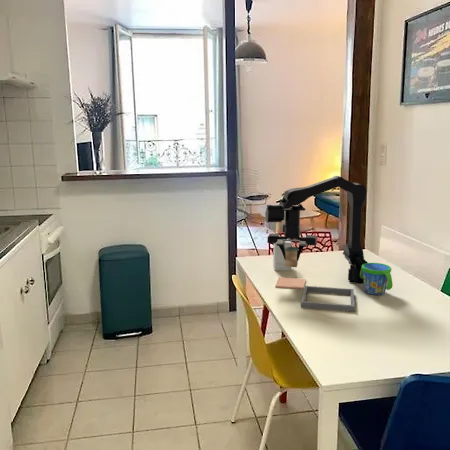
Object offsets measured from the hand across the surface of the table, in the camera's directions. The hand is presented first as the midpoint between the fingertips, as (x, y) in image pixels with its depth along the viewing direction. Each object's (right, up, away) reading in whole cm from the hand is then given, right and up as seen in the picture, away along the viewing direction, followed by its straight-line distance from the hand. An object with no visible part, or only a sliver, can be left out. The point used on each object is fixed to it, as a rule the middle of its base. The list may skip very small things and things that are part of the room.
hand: (291, 260), depth 193 cm
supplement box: (-1, -5, +23) cm, 24 cm away
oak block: (0, -2, 0) cm, 2 cm away
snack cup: (+30, -12, -8) cm, 34 cm away
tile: (0, -10, +2) cm, 10 cm away
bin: (+11, -13, -17) cm, 24 cm away
